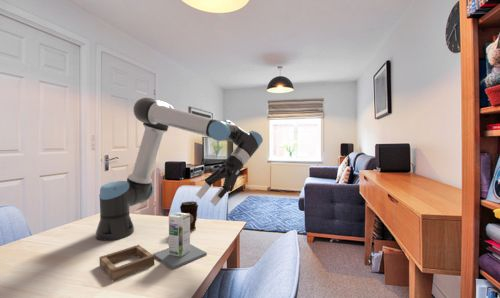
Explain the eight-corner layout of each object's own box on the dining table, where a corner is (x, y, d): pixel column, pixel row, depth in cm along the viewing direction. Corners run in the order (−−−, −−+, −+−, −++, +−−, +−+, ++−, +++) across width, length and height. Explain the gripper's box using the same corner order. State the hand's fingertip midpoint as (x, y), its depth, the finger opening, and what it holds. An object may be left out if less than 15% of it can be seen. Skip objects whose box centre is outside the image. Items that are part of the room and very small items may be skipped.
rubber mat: (152, 255, 88) (152, 253, 88) (185, 243, 98) (185, 241, 98) (172, 269, 78) (172, 267, 78) (206, 254, 88) (206, 252, 88)
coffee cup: (193, 233, 109) (193, 205, 109) (176, 232, 111) (176, 204, 110) (200, 226, 118) (200, 200, 117) (185, 225, 119) (185, 200, 119)
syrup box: (168, 254, 87) (167, 215, 86) (178, 248, 92) (178, 211, 92) (180, 257, 84) (180, 217, 84) (190, 250, 90) (190, 212, 90)
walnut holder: (99, 265, 81) (99, 257, 80) (138, 252, 90) (138, 244, 90) (112, 280, 72) (112, 271, 72) (154, 264, 81) (154, 255, 81)
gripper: (259, 168, 93) (226, 213, 85) (227, 164, 113) (198, 199, 105) (248, 155, 90) (213, 200, 82) (218, 153, 110) (187, 189, 102)
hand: (204, 200), depth 93 cm, fingers open, 13 cm apart
